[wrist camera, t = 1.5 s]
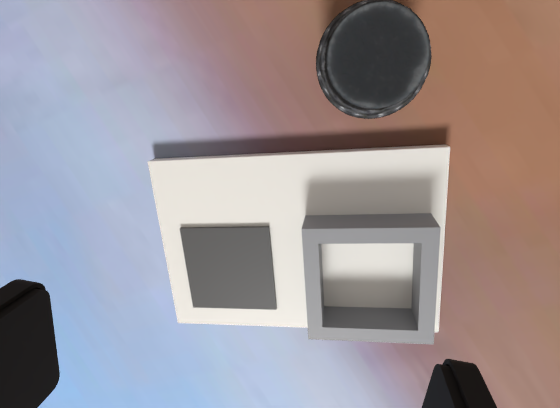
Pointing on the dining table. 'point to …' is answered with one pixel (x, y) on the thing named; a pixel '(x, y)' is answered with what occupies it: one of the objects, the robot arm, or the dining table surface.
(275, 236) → the socket board
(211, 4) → the dining table surface
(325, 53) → the pill bottle
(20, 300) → the robot arm
